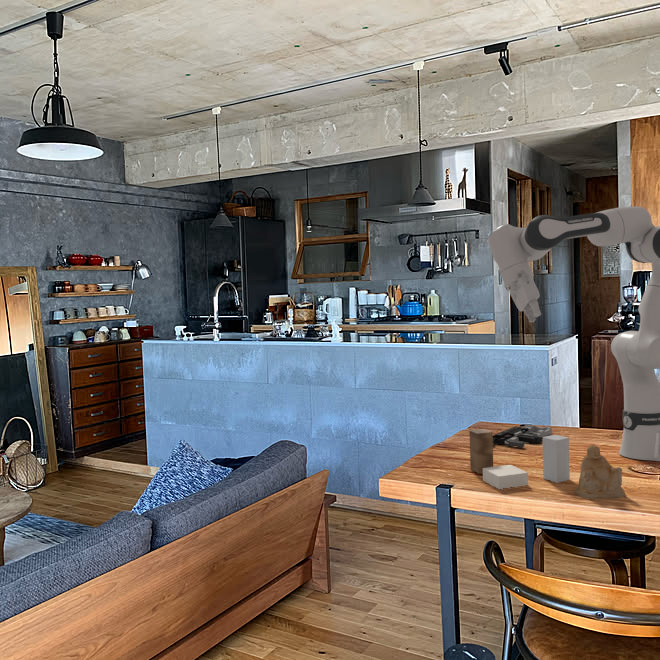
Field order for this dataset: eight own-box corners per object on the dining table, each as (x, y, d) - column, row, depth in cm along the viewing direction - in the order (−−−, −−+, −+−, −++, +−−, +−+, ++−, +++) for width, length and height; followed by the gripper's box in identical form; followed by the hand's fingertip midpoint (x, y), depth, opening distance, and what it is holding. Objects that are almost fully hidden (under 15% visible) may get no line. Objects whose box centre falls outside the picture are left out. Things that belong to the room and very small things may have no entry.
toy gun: (517, 455, 218) (476, 449, 228) (558, 436, 242) (519, 431, 252) (516, 445, 218) (475, 439, 227) (558, 426, 242) (519, 421, 252)
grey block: (555, 475, 192) (554, 434, 192) (569, 479, 188) (568, 437, 187) (543, 478, 190) (542, 437, 189) (557, 482, 186) (556, 440, 185)
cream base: (511, 478, 193) (510, 464, 193) (528, 486, 184) (527, 472, 184) (483, 481, 190) (482, 468, 190) (499, 490, 182) (498, 476, 182)
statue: (603, 444, 184) (622, 442, 174) (612, 497, 180) (632, 497, 171) (561, 448, 182) (578, 445, 173) (569, 501, 179) (587, 501, 169)
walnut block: (485, 467, 204) (484, 428, 203) (493, 471, 199) (492, 432, 198) (470, 469, 203) (469, 430, 202) (478, 473, 198) (477, 433, 197)
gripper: (533, 264, 190) (552, 308, 187) (523, 280, 210) (540, 320, 207) (512, 272, 190) (530, 316, 188) (504, 287, 210) (521, 327, 208)
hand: (535, 318), depth 198 cm, fingers open, 8 cm apart
